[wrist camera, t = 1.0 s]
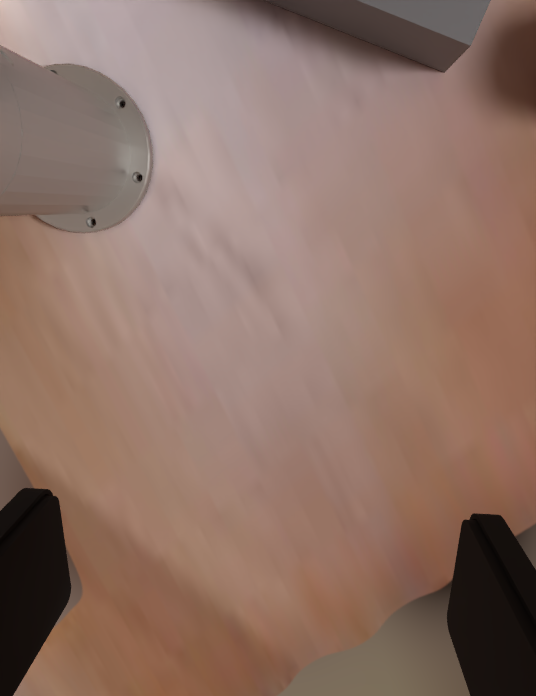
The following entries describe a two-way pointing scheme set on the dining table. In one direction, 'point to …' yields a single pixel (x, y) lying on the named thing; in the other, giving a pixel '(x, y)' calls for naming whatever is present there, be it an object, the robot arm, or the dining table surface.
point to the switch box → (402, 24)
